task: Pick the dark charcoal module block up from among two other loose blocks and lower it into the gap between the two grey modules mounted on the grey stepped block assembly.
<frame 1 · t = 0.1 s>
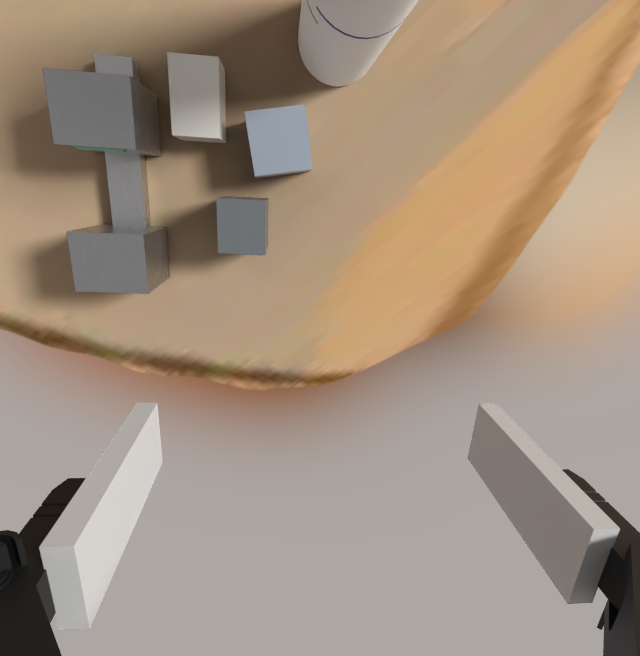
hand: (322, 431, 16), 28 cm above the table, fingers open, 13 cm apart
grey stepped block assembly: (130, 182, 38), on the table
module: (248, 220, 40), on the table
loose block white: (203, 106, 37), on the table
loose block slate: (279, 147, 38), on the table
cylindrical container: (337, 41, 36), on the table
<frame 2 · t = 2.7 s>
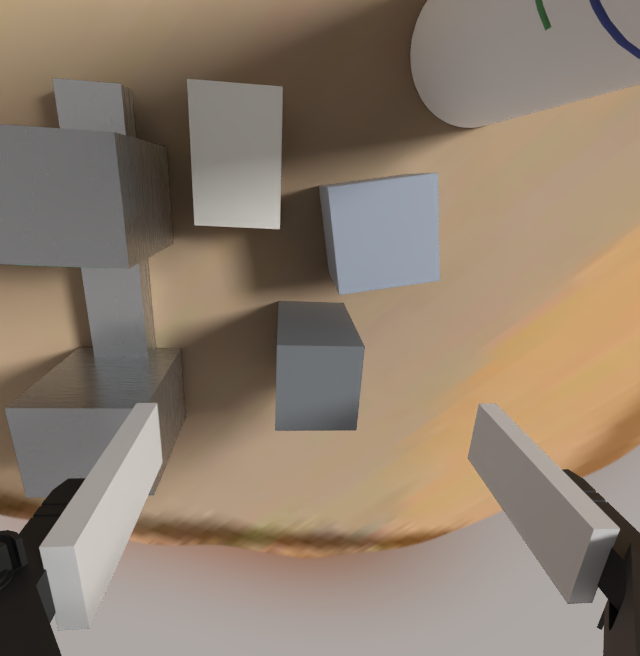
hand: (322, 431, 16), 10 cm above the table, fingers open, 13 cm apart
grey stepped block assembly: (123, 284, 23), on the table
module: (309, 335, 25), on the table
loose block white: (244, 162, 22), on the table
loose block slate: (366, 225, 23), on the table
cylindrical container: (476, 52, 21), on the table
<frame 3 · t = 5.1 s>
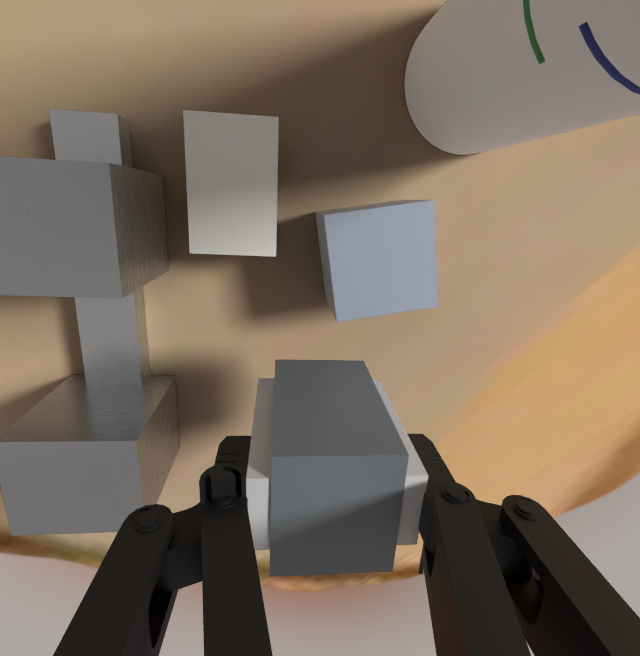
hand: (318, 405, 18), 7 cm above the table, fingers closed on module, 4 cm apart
grey stepped block assembly: (117, 311, 23), on the table
module: (317, 404, 19), point 6 cm above the table, touching gripper
loose block white: (240, 190, 22), on the table
loose block slate: (362, 250, 23), on the table
cylindrical container: (469, 82, 21), on the table
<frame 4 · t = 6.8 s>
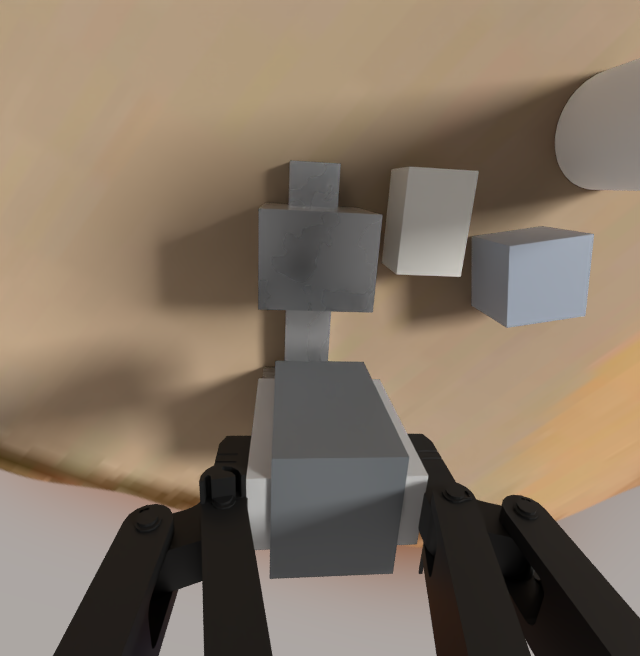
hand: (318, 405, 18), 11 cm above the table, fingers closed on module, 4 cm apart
grey stepped block assembly: (306, 315, 28), on the table
module: (317, 405, 19), point 11 cm above the table, touching gripper
loose block white: (415, 219, 27), on the table
loose block slate: (505, 266, 29), on the table
cylindrical container: (605, 132, 26), on the table
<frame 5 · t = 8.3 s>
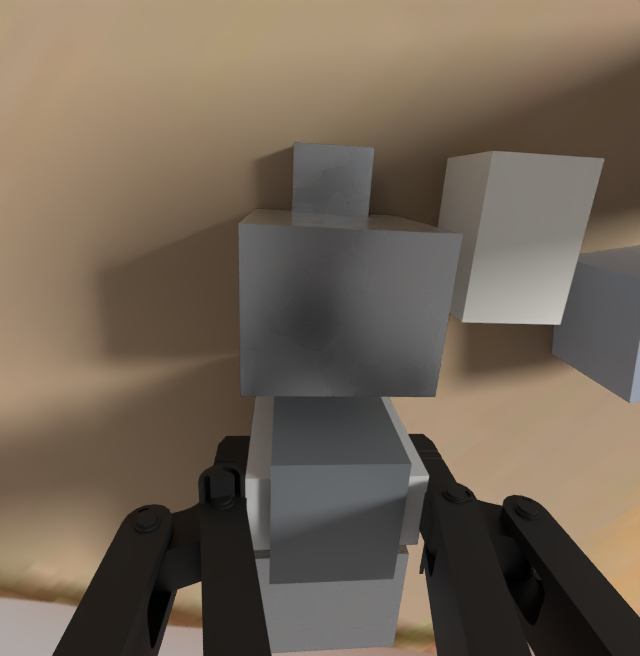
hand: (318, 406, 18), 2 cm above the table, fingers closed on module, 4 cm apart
grey stepped block assembly: (317, 370, 20), on the table
module: (318, 406, 19), point 1 cm above the table, touching grey stepped block assembly, gripper
loose block white: (478, 232, 18), on the table
loose block slate: (603, 299, 20), on the table
when the fingers open (1 cm above the table, at t = 8.6 s): module stays where it is, resting on grey stepped block assembly.
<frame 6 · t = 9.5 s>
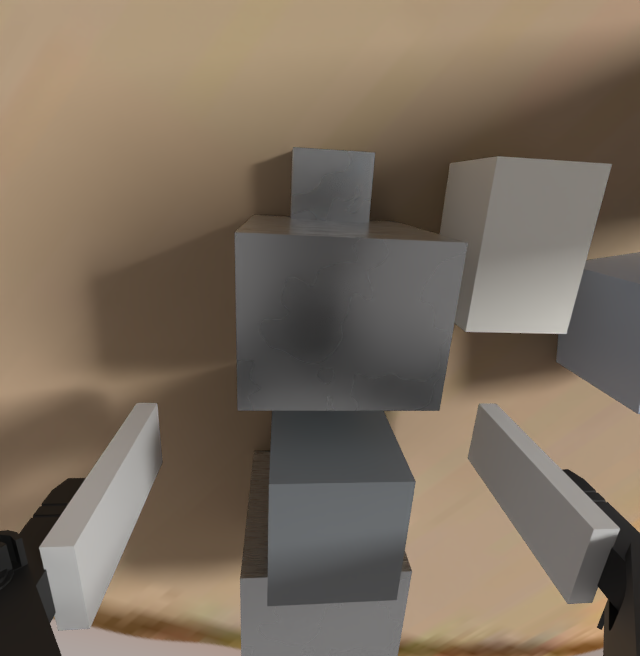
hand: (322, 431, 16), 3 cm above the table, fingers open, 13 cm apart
grey stepped block assembly: (317, 380, 19), on the table
module: (317, 416, 18), point 1 cm above the table, touching grey stepped block assembly
loose block white: (481, 238, 18), on the table
loose block slate: (608, 306, 19), on the table
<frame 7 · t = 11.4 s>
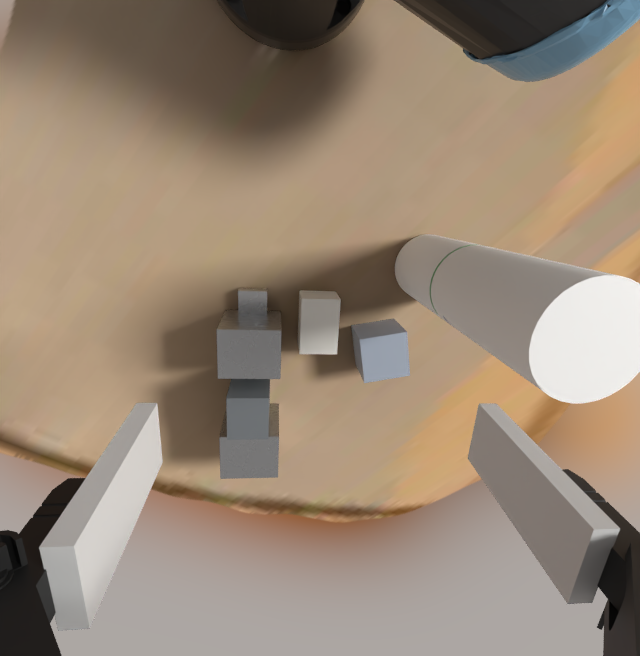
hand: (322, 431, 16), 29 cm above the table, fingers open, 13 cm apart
grey stepped block assembly: (253, 372, 46), on the table
module: (252, 387, 45), point 1 cm above the table, touching grey stepped block assembly
loose block white: (316, 316, 45), on the table
loose block slate: (374, 341, 47), on the table
cylindrical container: (425, 266, 45), on the table
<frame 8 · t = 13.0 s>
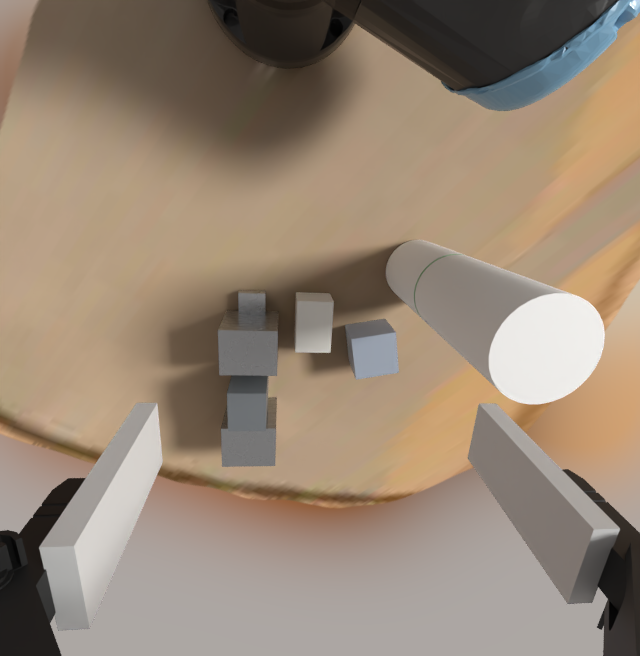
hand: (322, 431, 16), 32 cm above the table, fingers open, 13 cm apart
grey stepped block assembly: (252, 368, 50), on the table
module: (251, 382, 49), point 1 cm above the table, touching grey stepped block assembly
loose block white: (311, 316, 48), on the table
loose block slate: (366, 340, 50), on the table
cylindrical container: (414, 270, 48), on the table
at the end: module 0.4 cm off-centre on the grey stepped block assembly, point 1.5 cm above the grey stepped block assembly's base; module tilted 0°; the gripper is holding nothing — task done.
